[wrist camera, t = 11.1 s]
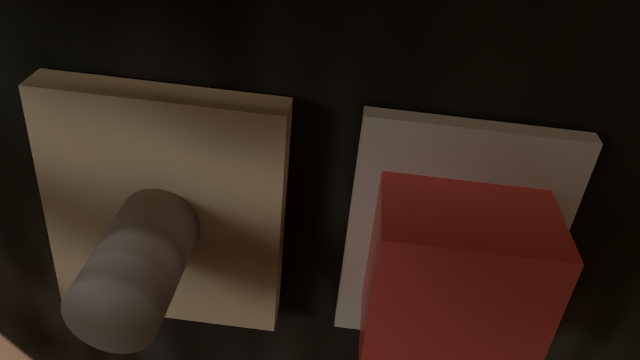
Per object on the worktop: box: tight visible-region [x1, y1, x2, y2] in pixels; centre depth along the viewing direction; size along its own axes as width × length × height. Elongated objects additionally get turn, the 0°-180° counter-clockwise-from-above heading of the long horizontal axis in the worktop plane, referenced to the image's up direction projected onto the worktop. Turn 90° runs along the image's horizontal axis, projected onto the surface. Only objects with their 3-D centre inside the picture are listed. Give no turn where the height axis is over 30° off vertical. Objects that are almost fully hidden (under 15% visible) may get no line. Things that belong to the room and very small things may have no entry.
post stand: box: [18, 68, 293, 354], centre depth 21 cm, size 10×9×6 cm
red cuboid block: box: [359, 171, 584, 360], centre depth 21 cm, size 6×6×4 cm
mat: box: [335, 106, 603, 329], centre depth 23 cm, size 10×8×1 cm
